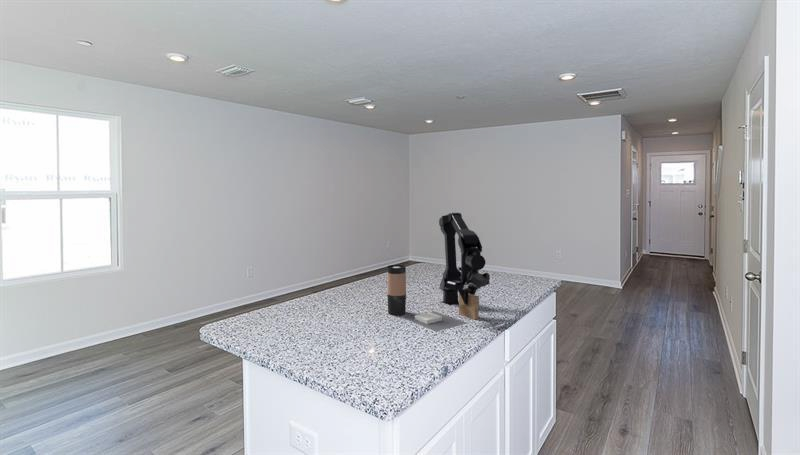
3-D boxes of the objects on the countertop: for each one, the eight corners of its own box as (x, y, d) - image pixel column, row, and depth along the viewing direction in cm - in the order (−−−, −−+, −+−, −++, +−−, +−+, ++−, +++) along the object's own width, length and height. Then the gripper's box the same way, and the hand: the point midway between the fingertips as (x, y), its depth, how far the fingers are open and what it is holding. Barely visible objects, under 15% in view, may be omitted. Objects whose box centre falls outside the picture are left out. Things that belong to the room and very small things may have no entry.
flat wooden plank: (458, 314, 173) (459, 292, 172) (462, 313, 174) (462, 291, 173) (474, 319, 166) (475, 297, 165) (478, 318, 167) (478, 296, 166)
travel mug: (409, 312, 177) (408, 265, 175) (401, 317, 170) (401, 268, 168) (392, 310, 180) (392, 264, 178) (384, 315, 173) (383, 267, 172)
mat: (403, 319, 168) (402, 318, 168) (433, 312, 178) (433, 311, 178) (436, 332, 152) (436, 331, 152) (467, 324, 162) (468, 323, 162)
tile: (429, 315, 171) (414, 319, 166) (429, 312, 171) (414, 315, 166) (441, 320, 165) (427, 324, 160) (441, 316, 165) (427, 320, 160)
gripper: (465, 271, 156) (465, 312, 158) (500, 265, 167) (499, 304, 168) (445, 266, 165) (445, 306, 167) (479, 261, 176) (478, 298, 177)
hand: (468, 304), depth 170 cm, fingers closed on flat wooden plank, 2 cm apart
